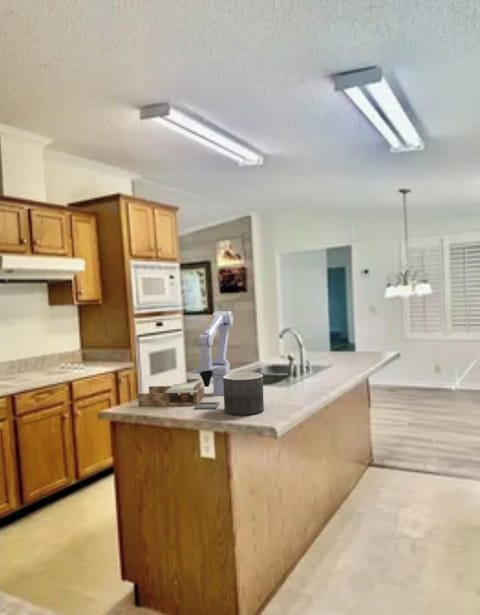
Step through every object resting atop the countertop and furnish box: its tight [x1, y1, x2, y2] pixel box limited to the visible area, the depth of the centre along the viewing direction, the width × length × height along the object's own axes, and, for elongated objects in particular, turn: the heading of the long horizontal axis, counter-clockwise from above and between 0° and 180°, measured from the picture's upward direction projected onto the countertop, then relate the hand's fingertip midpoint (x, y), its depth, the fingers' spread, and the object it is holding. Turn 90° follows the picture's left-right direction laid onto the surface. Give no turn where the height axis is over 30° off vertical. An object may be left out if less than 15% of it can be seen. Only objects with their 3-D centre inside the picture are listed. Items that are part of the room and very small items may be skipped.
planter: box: [223, 372, 265, 417], centre depth 219 cm, size 18×18×16 cm
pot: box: [179, 393, 192, 402], centre depth 242 cm, size 5×5×5 cm
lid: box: [165, 380, 204, 394], centre depth 242 cm, size 15×19×2 cm
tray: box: [194, 401, 220, 410], centre depth 228 cm, size 10×10×1 cm
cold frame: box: [137, 385, 205, 407], centre depth 242 cm, size 29×19×6 cm, turn 84°
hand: (206, 386), depth 240 cm, fingers closed
